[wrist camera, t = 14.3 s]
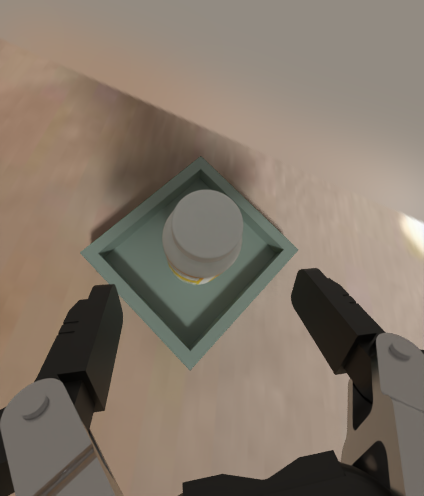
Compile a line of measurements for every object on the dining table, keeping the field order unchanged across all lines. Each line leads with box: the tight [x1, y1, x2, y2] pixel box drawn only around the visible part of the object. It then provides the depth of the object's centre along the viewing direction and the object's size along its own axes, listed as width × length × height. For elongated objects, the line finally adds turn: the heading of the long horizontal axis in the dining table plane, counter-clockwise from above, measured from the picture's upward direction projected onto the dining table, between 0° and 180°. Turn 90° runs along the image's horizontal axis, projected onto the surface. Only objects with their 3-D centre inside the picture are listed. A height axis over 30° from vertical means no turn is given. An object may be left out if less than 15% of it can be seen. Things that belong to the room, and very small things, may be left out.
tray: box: [80, 156, 298, 370], centre depth 21 cm, size 14×13×2 cm
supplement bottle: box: [162, 190, 243, 285], centre depth 17 cm, size 5×5×10 cm
